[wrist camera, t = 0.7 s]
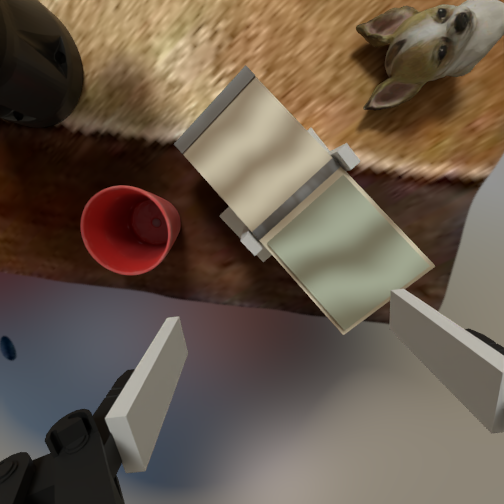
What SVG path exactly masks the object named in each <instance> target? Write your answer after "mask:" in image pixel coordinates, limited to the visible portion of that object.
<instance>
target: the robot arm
mask: <svg viewBox="0 0 504 504" xmlns="http://www.w3.org/2000/svg"><path fill="white" fill-rule="evenodd" d="M82 82H83V72H82V64H81V59H80V56H79V52H78V50H77V47H76V45H75V42H74V40H73V39H72V37H71V35H70V33H69V32H68V30H67V29H66V27H65V26H64V25H63V24H62V22H61V21H60V20H59V19H58V18H57V17H56V16H55V15H54V14H53V13H52V12H50V11H49V10H48V9H47V8H46V7H45V6H44V5H42V4H41V3H40V2H39V1H38V0H0V118H2V119H5V120H7V121H10V122H14V123H17V124H20V125H24V126H28V127H36V128H41V127H48V126H52V125H55V124H57V123H59V122H61V121H62V120H64V119H65V118H66V117H67V116H68V115H69V114H70V113H71V112H72V111H73V109H74V108H75V106H76V104H77V102H78V100H79V97H80V94H81V90H82ZM390 330H391V331H392V332H393V333H394V334H395V335H396V336H397V337H398V338H399V340H400V341H401V342H402V343H403V344H404V345H405V346H406V347H407V348H409V350H410V351H411V352H412V353H413V354H414V355H415V356H416V357H417V358H418V359H419V360H420V361H421V362H422V363H423V364H424V365H425V366H426V367H427V368H428V369H429V370H430V371H431V372H432V373H433V374H434V375H435V376H436V377H437V378H438V379H439V380H440V381H441V382H442V383H443V384H444V385H445V386H446V387H447V389H449V391H450V392H451V393H452V394H453V395H455V397H456V398H457V399H458V400H459V401H460V402H461V403H462V404H463V405H464V406H465V407H466V408H467V409H468V410H469V411H470V412H471V413H472V414H473V415H474V416H475V417H476V418H477V419H478V420H479V421H480V422H481V423H482V424H483V425H484V426H485V427H486V428H487V429H488V430H489V431H490V432H491V433H499V432H504V347H502V346H501V345H499V344H496V343H495V342H494V341H493V340H491V339H490V338H488V337H486V336H485V335H483V334H481V333H478V332H476V331H473V330H471V329H463V328H462V327H460V326H459V325H457V324H456V323H454V322H453V321H451V320H450V319H448V318H447V317H445V316H444V315H442V314H441V313H439V312H438V311H436V310H435V309H433V308H432V307H430V306H429V305H427V304H426V303H424V302H423V301H421V300H420V299H418V298H417V297H415V296H414V295H412V294H411V293H409V292H408V291H406V290H405V289H396V290H391V297H390ZM187 355H188V351H187V347H186V343H185V339H184V334H183V331H182V326H181V322H180V318H179V317H171V318H167V319H166V321H165V322H164V324H163V325H162V327H161V329H160V330H159V332H158V333H157V335H156V337H155V338H154V340H153V342H152V343H151V345H150V347H149V348H148V350H147V351H146V353H145V354H144V356H143V358H142V359H141V361H140V363H139V364H138V366H137V367H136V369H133V370H127V371H126V372H125V373H124V374H123V375H122V376H120V377H119V378H118V379H117V381H116V382H115V384H114V385H113V387H112V389H111V390H110V391H109V393H108V394H107V395H106V398H105V399H104V400H103V402H102V403H101V404H100V406H99V407H98V409H97V410H96V412H95V413H94V415H93V416H92V414H91V412H90V411H89V410H87V409H80V410H76V411H74V412H72V413H70V414H68V415H66V416H65V417H63V418H61V419H60V420H59V421H58V422H57V423H55V424H54V425H53V426H52V427H51V429H50V430H49V432H48V433H47V435H46V438H45V442H46V444H47V446H48V448H49V450H50V452H51V453H50V454H47V455H45V456H42V457H40V458H38V459H35V460H32V459H31V457H30V456H29V455H28V453H26V452H20V453H17V454H14V455H11V456H9V457H8V458H6V459H4V460H3V461H1V462H0V504H125V503H124V499H123V496H122V492H121V488H120V485H119V481H118V478H117V476H116V474H117V472H118V470H119V468H120V465H121V463H122V464H123V466H124V469H125V472H126V473H133V472H141V471H146V468H147V465H148V463H149V460H150V457H151V454H152V452H153V449H154V446H155V443H156V441H157V438H158V435H159V432H160V430H161V427H162V424H163V421H164V419H165V416H166V413H167V410H168V408H169V405H170V402H171V399H172V397H173V394H174V391H175V388H176V386H177V382H178V380H179V377H180V374H181V372H182V369H183V366H184V363H185V361H186V358H187Z"/></svg>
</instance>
